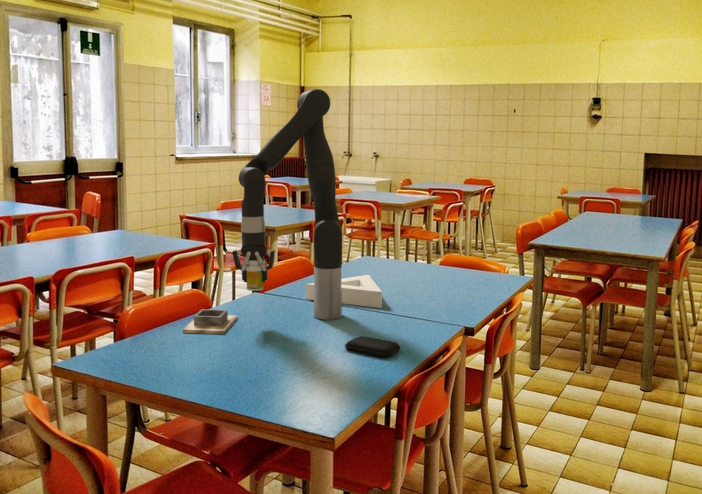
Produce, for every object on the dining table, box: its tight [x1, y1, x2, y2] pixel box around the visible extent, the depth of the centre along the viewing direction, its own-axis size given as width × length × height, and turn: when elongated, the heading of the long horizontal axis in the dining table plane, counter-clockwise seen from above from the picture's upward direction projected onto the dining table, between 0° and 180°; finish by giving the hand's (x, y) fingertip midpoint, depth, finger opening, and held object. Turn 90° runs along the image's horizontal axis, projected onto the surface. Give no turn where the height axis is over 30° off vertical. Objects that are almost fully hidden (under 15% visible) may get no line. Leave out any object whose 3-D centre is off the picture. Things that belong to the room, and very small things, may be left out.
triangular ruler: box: [305, 274, 383, 309], centre depth 264 cm, size 30×26×6 cm
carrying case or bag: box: [344, 335, 401, 359], centre depth 199 cm, size 11×3×15 cm
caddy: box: [182, 308, 238, 335], centre depth 222 cm, size 13×18×4 cm
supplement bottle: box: [246, 260, 264, 292], centre depth 223 cm, size 5×5×10 cm
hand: (254, 281), depth 224 cm, fingers closed on supplement bottle, 5 cm apart
